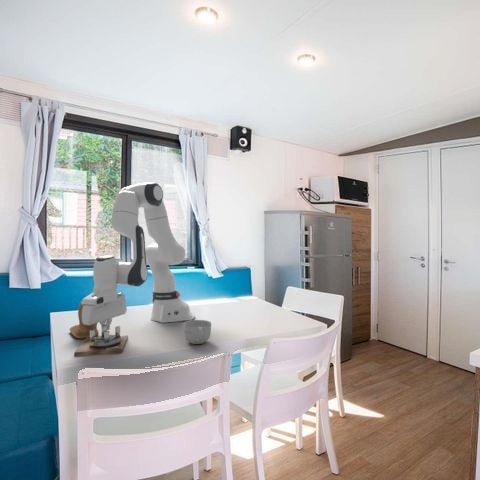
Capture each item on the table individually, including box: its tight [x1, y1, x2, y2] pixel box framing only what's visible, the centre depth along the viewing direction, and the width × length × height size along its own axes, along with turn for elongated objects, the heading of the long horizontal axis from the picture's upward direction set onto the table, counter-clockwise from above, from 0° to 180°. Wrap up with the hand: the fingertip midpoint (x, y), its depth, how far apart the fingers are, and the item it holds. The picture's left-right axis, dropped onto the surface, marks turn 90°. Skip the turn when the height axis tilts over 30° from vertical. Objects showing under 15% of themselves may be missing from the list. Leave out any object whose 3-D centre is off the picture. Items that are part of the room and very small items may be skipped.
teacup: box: [183, 319, 212, 345], centre depth 131 cm, size 14×11×8 cm
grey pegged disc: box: [90, 325, 121, 348], centre depth 125 cm, size 11×11×6 cm
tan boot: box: [69, 301, 100, 339], centre depth 142 cm, size 15×12×15 cm
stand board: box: [73, 334, 129, 357], centre depth 126 cm, size 16×17×2 cm
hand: (106, 330), depth 132 cm, fingers closed
